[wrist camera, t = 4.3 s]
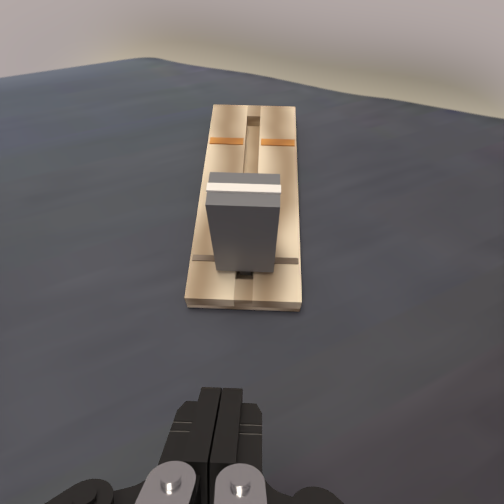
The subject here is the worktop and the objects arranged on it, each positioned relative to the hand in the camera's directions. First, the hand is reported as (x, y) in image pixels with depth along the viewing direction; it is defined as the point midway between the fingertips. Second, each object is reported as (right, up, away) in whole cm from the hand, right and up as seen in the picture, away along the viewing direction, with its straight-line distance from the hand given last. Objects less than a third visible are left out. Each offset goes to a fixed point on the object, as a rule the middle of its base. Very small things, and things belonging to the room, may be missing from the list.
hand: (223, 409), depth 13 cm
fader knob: (+1, +4, +21) cm, 22 cm away
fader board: (+1, +12, +26) cm, 29 cm away
